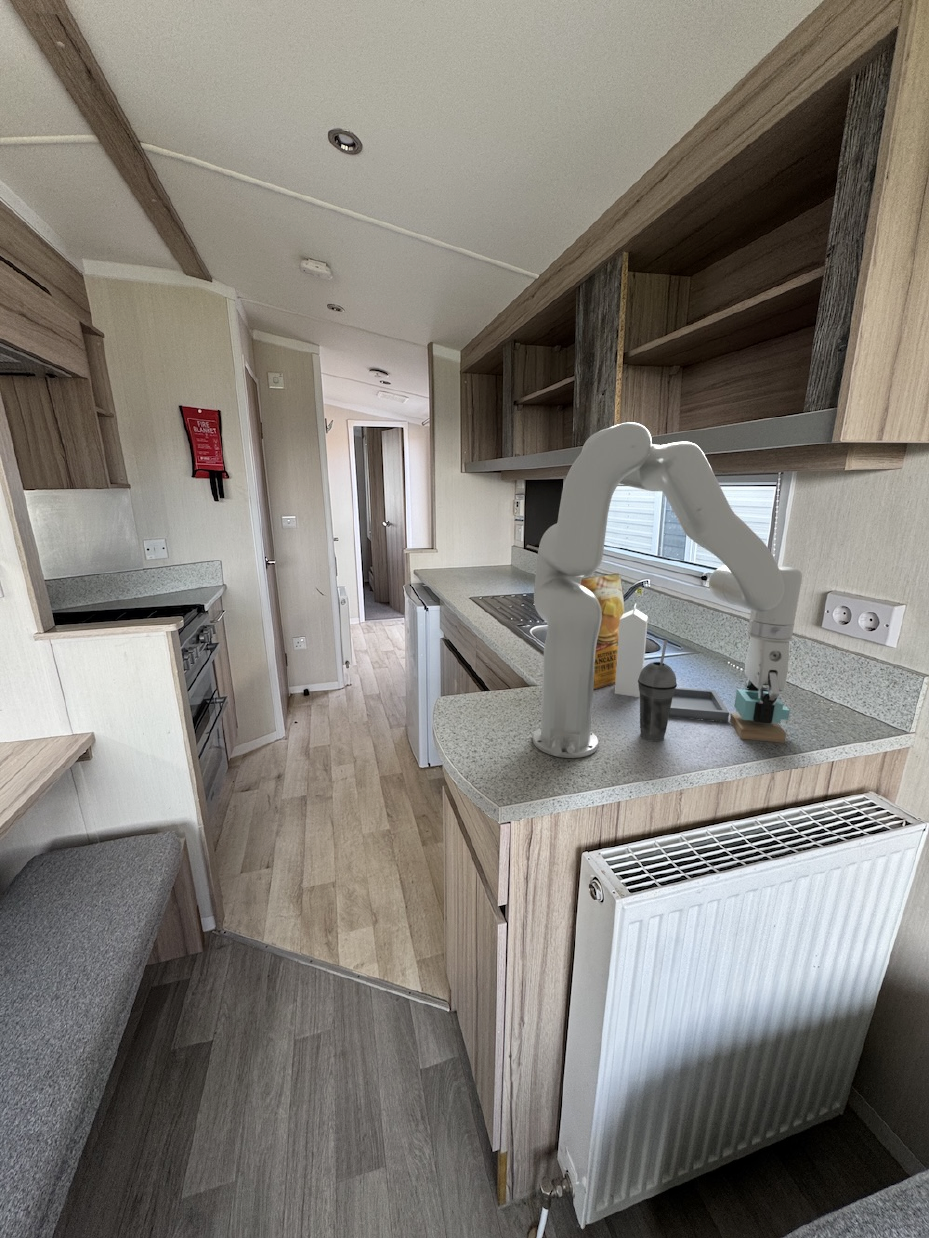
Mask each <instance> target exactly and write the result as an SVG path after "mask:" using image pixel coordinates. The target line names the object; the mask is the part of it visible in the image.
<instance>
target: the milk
mask: <svg viewBox="0 0 929 1238" xmlns="http://www.w3.org/2000/svg"><path fill="white" fill-rule="evenodd" d="M648 620H649V616H648V615H647V614H645V613H644V612H642V611H640V610H639V609H637V603H635V604H634V605H633V608H632V609H631V610H629V611H627V612H625V614H623V615H622V617H621V618H620V624H619V638H618V652H617V666H616V680H615V683H614V684H615V685H614V694H615V695H620V696H627V697H635V698H640V691H639V686H638V684H639V683H638V679H639V676H640V673H641V671H642V669H643V668H644V667H645V658H646V645H647V632H648Z"/></svg>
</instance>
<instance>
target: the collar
mask: <svg viewBox="0 0 929 1238" xmlns="http://www.w3.org/2000/svg"><path fill="white" fill-rule="evenodd" d="M735 692H736V693H735V700H734V708H735V710H736V711H737V713H738V714H740V716H741V717H742V719H743V720H752V721H754V720H753V717H754V711H755V704H756V702H758V691H754V690H745V689H741V688H737V689H736V691H735ZM765 694H768V692H766V691H763V697H764V695H765ZM790 712H791V711H790V709H789V708H788V707H787V706H785V705H784V704H783V702H782V701H781V700H780V699H779V698H778V697H777V699H776V704H775V707H774V713H773V719H772V723H778V724H781V720H785V721H788V720H789V718H790Z"/></svg>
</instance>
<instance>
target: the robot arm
mask: <svg viewBox="0 0 929 1238" xmlns="http://www.w3.org/2000/svg"><path fill="white" fill-rule="evenodd" d="M652 441H653V440H652V436H651V433H650V431H649V430H648V429H647V428H646V427H645V426H644V425H642V424H640V423H637V422H623V423H618V424H616V425H612V426H610V427H608V428H605V429H602V430H599V431H597V432H595V433H593V434H592V435H590V436H589V437H588V438H587V440H586V441H585V442H584V444H583V446H582V449H581V452H580V454H579V455H578V456H577V457H576V459H575V460H574V462H573V463H572V465H571V467H570V468H569V471H568V472H567V475H566V478H565V480H564V484H563V487H562V491H561V496H560V497H561V499H560V502H559V503H560V504H559V509H558V510H559V511H558V517H557V523H554V524H553V525H551V526H550V527H548V528H547V530H546V531H545V532H544V533H543V535H542V537H541V539H540V541H539V544H538V546H539V547H538V551H537V557H536V569H535V575H534V576H535V578H534V590H533V604H534V608H535V611H536V612H537V614H538V616H539V617H540V618H541V619H542V620H543V621H544V622H545V623H546V624H547V631H546V637H545V641H544V648H543V663H542V691H541V692H542V694H541V695H542V696H541V697H542V699H541V720H540V721H541V722H540V723H541V724H540V725H541V726H540V727H538V728H537V729H536V730H534V732H533V735H532V743H533V745H534V746H535V747H536V748H537V749H538V750H540V751H541V752H543V753H545V754H548V755H549V756H550V755H551V756H553V757H558V758H564V759H577V758H583V757H588V756H590V755H592V754H593V753H595V752H596V751H597V749H598V748H599V739H598V737H597V735H596V734H595V733H594V732H592V715H593V702H594V701H593V699H594V689H593V686H594V666H595V653H596V645H597V639H598V635H599V630H600V626H601V620H602V611H601V606H600V603H599V601H598V599H597V598H596V596H595V595H594V594H593V593H592V592H591V591H590V590H589V589H587V588H586V587H584V586H582V585H581V579H583V578H586V577H590V576H591V575H593V574H594V573H595V572H596V571H597V570H598V569H599V567H600V566H601V564H602V561H603V557H604V549H605V541H606V533H607V525H608V519H609V518H608V516H609V511H610V508H611V501H612V498H613V495H614V492H615V491H616V489H617V487H618V486H619V485H624V486H628V487H629V488H631V487H632V488H635V489H639V490H643V491H644V490H645V491H650V492H663V494H664V497H665V498H666V500H667V502H668V503H669V506H670V507H671V509H672V511H673V512H674V515H675V516H676V518H677V521H678V522H679V524H680V527H681V528H682V530H683V532H684V534H685V535H686V536H687V538H689V539H690V540H692V541H693V542H694V543H695V544H697V545H698V546H699V547H701V548H702V549H705V550H707V551H708V552H709V553H711V554H713V555H714V556H715V557H716V558H718V559H719V560H720V561H721V562H722V563H723V564H724V565H721V566H720V567H718V568H716V569H715V570H714V571H713V572H712V573H711V575H710V576H709V580H708V588H709V591H710V593H711V594H712V595H713V596H714V597H716V599H718V600H720V601H722V602H724V603H727V604H731V605H732V606H733V605H734V606H738V607H741V608H744V609H747V610H750V615H749V621H748V625H747V626H748V627H747V636H748V637H750V638H749V639H750V640H749V642H748V648H747V653H746V657H745V658H746V659H745V665H744V675H745V677H746V681H745V683H744V685H745V686H744V687H745V688H744V690H754V691H758V702H756V704H755V711H754V717H753V720H754V721H755V722H760V723H772V719H773V713H774V707H775V704H776V699H777V698H778V697H779V695H780V692H784V691H785V689H786V686H787V679H788V669H789V660H790V642H791V641H792V639H793V633H794V627H795V622H796V621H795V620H796V616H797V609H798V605H799V604H798V603H799V598H800V593H801V586H802V581H803V580H802V579H803V575H802V572H801V570H800V569H798V568H796V567H795V568H794V567H790V566H783V565H782V566H781V565H778V563H777V561H776V559H775V558H774V556H773V554H772V552H771V550H770V549H769V547H768V546H767V545H766V543H765V542H764V541H763V540H762V539H761V538H760V537H759V536H758V535H757V534H756V533H755V532H754V531H753V530H752V529H751V528H750V527H749V526H748V525H747V524H746V523H745V521H743V520H742V519H741V518H740V517H739V516H738V515H737V514H735V512H734V510H733V509H732V507H731V505H730V503H729V501H728V500H727V498H726V495H725V493H724V491H723V489H722V487H721V485H720V483H719V481H718V479H717V477H716V476H715V473H714V470H713V469H712V467H711V465H710V463H709V461H708V459H707V457H706V455H705V453H704V452H703V450H702V449H701V447H699V446H698V445H697V444H696V443H693V442H690V441H677V442H671V443H667V444H661V445H660V444H655V443H654V444H653V443H652ZM764 686H768V687H764ZM763 691H765V692H768V694H765V695H764V697H763Z"/></svg>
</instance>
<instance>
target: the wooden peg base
mask: <svg viewBox="0 0 929 1238" xmlns="http://www.w3.org/2000/svg"><path fill="white" fill-rule="evenodd" d="M729 723H730V725H732V728H733V729H734V731H735V732H736V734H737V735H738V737H739V739H743V740H744V739H745V740H752V741H762V742H763V741H764V742H774V743H783V744H785V743H786V737H787V732H786V731H785V730H784V728H783V727H782V726H781V725H780V723H760V722H755V721H752V720H743V719H742V717H741V716H740V714H739V713H738V712H737V713H735V712H731V713H730V718H729Z"/></svg>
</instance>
